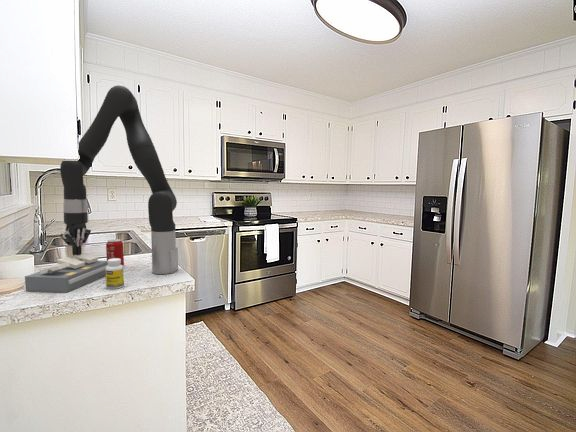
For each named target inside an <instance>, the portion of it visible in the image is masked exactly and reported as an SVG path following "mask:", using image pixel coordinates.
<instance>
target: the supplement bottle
mask: <svg viewBox="0 0 576 432" xmlns="http://www.w3.org/2000/svg"><path fill="white" fill-rule="evenodd" d="M120 263H121V259H119V258H114V259H109V260H108V265H109V266H107V267H106V275H105V288H106V289H107V290H116V289H121V288H123V287H124V285H125V280H124V279H125V278H124V277H125V276H124V272H125V271H124V265H121V264H120Z"/></svg>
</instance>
